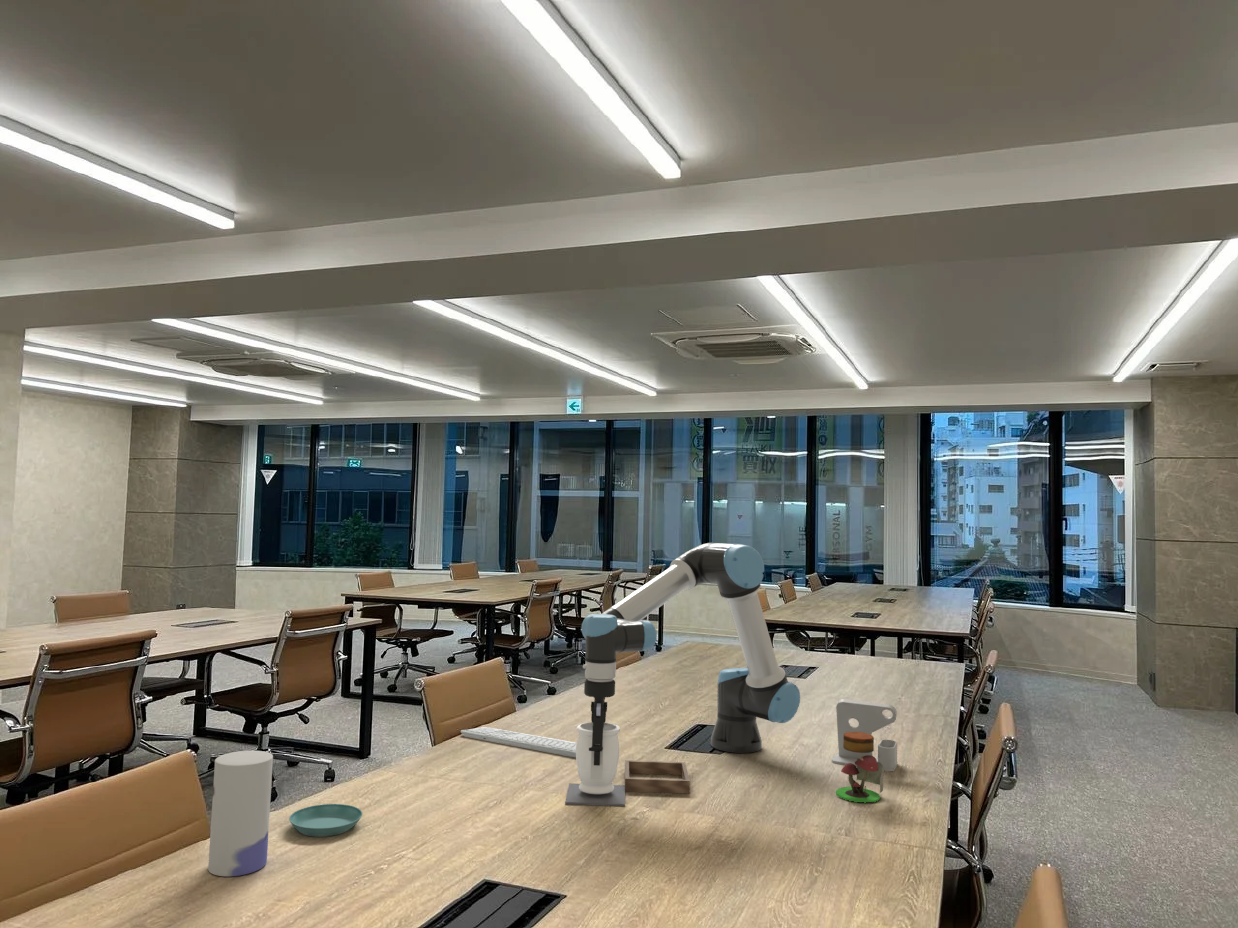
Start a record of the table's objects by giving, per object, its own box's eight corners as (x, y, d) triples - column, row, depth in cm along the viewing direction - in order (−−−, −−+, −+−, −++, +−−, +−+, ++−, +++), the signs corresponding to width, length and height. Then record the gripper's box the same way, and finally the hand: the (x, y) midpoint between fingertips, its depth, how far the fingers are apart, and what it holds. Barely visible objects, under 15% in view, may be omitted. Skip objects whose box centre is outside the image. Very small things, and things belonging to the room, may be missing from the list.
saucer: (319, 846, 167) (320, 833, 168) (273, 830, 175) (273, 817, 175) (376, 825, 180) (377, 812, 180) (330, 810, 188) (331, 798, 188)
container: (220, 855, 161) (227, 749, 162) (273, 855, 162) (280, 749, 163) (198, 877, 151) (206, 764, 153) (256, 877, 152) (262, 764, 153)
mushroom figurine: (859, 808, 200) (860, 744, 201) (824, 792, 211) (825, 731, 212) (896, 801, 206) (896, 739, 207) (859, 786, 217) (860, 727, 218)
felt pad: (624, 787, 210) (624, 785, 210) (624, 806, 196) (625, 804, 196) (569, 785, 210) (569, 783, 210) (565, 804, 196) (565, 801, 196)
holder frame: (684, 773, 223) (685, 762, 223) (689, 793, 207) (689, 780, 207) (624, 771, 223) (625, 760, 223) (624, 791, 207) (625, 778, 207)
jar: (622, 784, 207) (623, 723, 208) (613, 798, 197) (615, 733, 198) (580, 780, 209) (582, 719, 210) (569, 793, 199) (571, 729, 200)
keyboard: (606, 751, 244) (606, 743, 244) (584, 761, 233) (585, 753, 233) (484, 729, 264) (484, 721, 265) (459, 737, 254) (459, 729, 254)
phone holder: (899, 763, 239) (900, 699, 240) (895, 772, 230) (895, 706, 231) (837, 754, 247) (838, 692, 248) (830, 763, 237) (831, 698, 239)
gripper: (586, 669, 216) (583, 757, 215) (582, 687, 193) (579, 785, 192) (615, 670, 216) (613, 758, 215) (614, 688, 193) (611, 786, 192)
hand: (597, 771), depth 203 cm, fingers closed on jar, 10 cm apart
